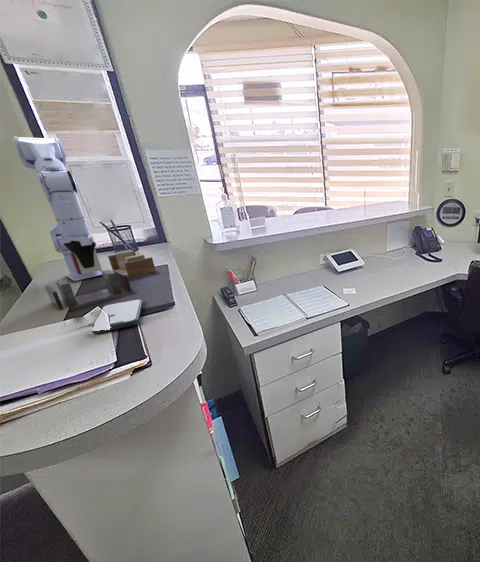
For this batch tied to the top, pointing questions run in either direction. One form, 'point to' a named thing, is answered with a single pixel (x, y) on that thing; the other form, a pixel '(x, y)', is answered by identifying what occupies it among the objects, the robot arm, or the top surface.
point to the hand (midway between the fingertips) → (87, 266)
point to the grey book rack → (115, 285)
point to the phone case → (123, 314)
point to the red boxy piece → (81, 269)
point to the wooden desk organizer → (131, 263)
